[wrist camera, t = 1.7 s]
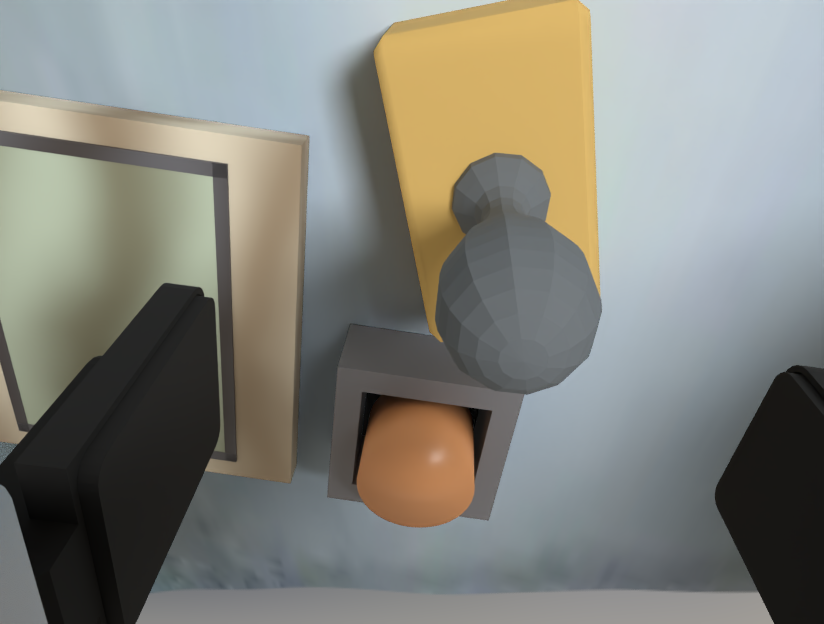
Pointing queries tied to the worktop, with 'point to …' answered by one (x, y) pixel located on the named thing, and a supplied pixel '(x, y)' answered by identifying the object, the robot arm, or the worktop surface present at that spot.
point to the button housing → (421, 380)
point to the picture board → (152, 258)
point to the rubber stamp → (500, 183)
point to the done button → (417, 461)
